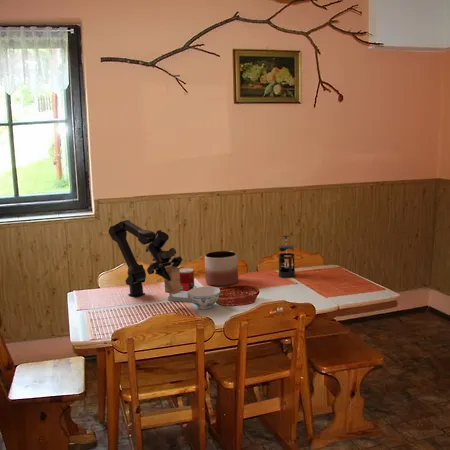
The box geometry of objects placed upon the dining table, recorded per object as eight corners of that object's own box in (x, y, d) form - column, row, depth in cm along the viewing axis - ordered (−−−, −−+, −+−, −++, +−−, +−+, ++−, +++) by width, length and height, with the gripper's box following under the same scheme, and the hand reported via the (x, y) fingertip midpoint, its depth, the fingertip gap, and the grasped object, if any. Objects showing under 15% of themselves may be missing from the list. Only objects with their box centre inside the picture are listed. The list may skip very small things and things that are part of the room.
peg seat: (168, 300, 274) (167, 290, 274) (176, 294, 284) (175, 285, 283) (190, 301, 271) (190, 292, 270) (198, 295, 280) (197, 286, 279)
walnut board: (165, 292, 265) (163, 267, 263) (172, 289, 269) (170, 265, 266) (173, 294, 261) (172, 269, 259) (180, 292, 265) (179, 267, 262)
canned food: (192, 292, 285) (191, 272, 284) (177, 292, 287) (176, 271, 285) (196, 288, 293) (195, 268, 291) (181, 288, 294) (180, 268, 293)
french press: (299, 276, 306) (298, 236, 302) (283, 279, 303) (282, 237, 299) (289, 272, 317) (288, 232, 313) (274, 274, 314) (273, 234, 310)
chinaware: (224, 309, 257) (224, 293, 256) (193, 313, 253) (192, 297, 252) (216, 300, 272) (215, 285, 270) (186, 304, 268) (185, 288, 266)
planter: (214, 276, 314) (213, 249, 311) (243, 279, 306) (242, 251, 304) (200, 285, 298) (198, 257, 295) (230, 288, 291) (228, 259, 288)
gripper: (149, 247, 257) (166, 273, 251) (179, 239, 270) (196, 265, 265) (139, 261, 263) (156, 287, 258) (169, 253, 277) (185, 278, 271)
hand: (174, 279), depth 263 cm, fingers closed on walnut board, 4 cm apart
